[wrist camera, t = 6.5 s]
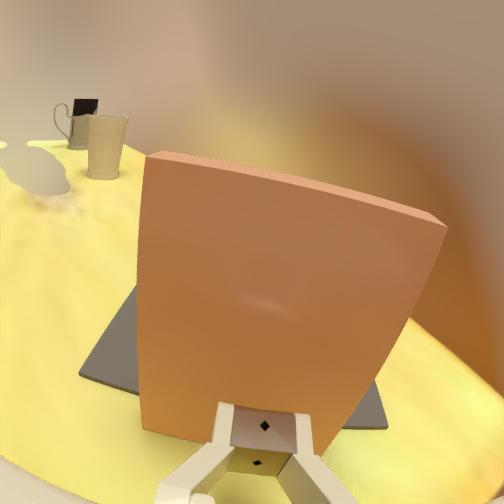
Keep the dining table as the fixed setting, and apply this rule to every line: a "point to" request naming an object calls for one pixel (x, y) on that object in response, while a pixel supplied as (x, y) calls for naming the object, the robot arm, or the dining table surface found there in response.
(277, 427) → the robot arm
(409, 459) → the dining table surface
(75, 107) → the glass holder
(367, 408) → the mat
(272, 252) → the tile
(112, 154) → the cup
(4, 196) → the dining table surface
